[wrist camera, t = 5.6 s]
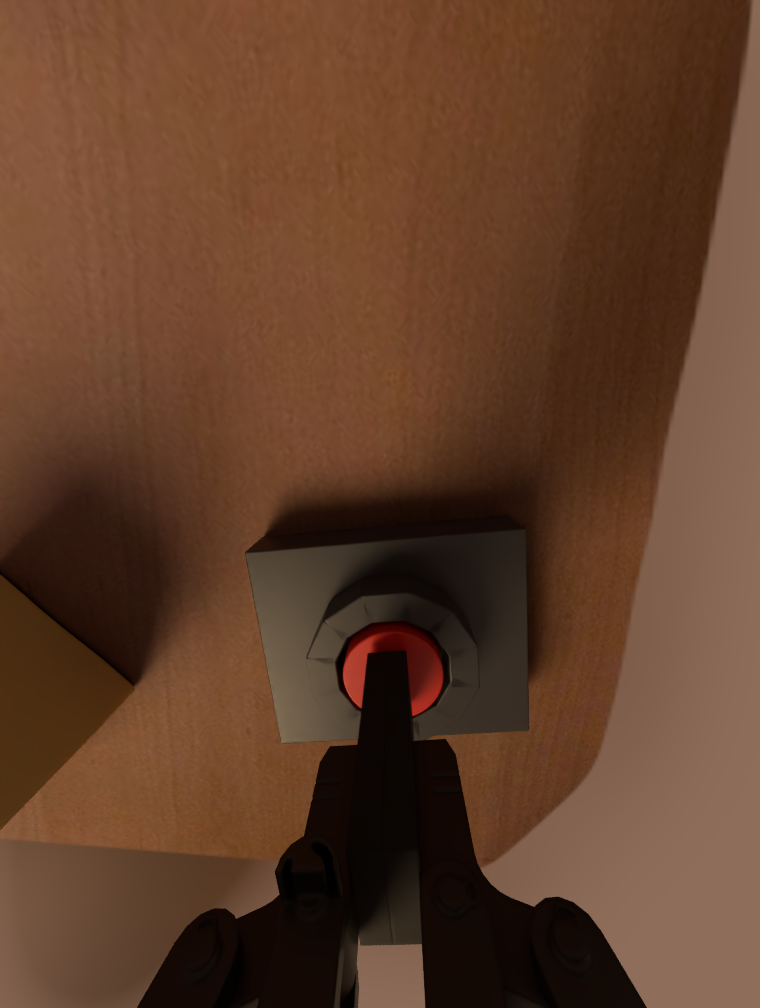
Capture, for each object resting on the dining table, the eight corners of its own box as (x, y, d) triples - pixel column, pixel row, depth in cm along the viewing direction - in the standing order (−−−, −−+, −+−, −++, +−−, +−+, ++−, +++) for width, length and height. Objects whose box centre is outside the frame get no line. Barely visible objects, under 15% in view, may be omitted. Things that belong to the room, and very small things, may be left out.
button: (435, 605, 15) (440, 628, 14) (441, 686, 16) (446, 717, 14) (342, 612, 15) (336, 635, 14) (353, 691, 16) (348, 722, 15)
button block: (509, 515, 17) (544, 542, 13) (514, 696, 19) (545, 767, 15) (262, 536, 18) (224, 568, 14) (293, 709, 20) (268, 779, 16)
